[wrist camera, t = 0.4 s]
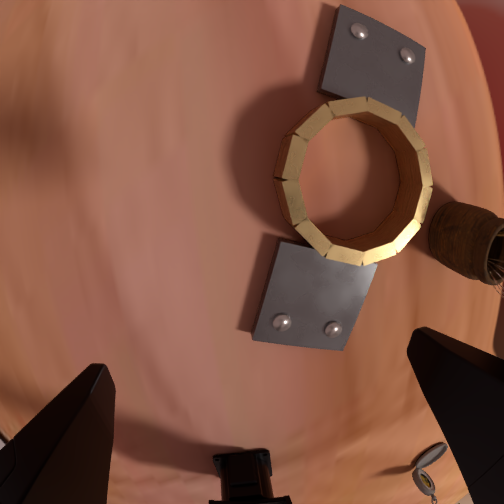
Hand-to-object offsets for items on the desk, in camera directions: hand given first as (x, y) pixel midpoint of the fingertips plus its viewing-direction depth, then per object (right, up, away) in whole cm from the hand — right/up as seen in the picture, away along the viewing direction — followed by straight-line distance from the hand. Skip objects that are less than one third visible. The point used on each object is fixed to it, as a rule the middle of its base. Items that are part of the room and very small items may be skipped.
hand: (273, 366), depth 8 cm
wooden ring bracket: (+6, +8, +13) cm, 17 cm away
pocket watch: (+30, -33, +28) cm, 52 cm away
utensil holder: (+17, +5, +15) cm, 24 cm away
